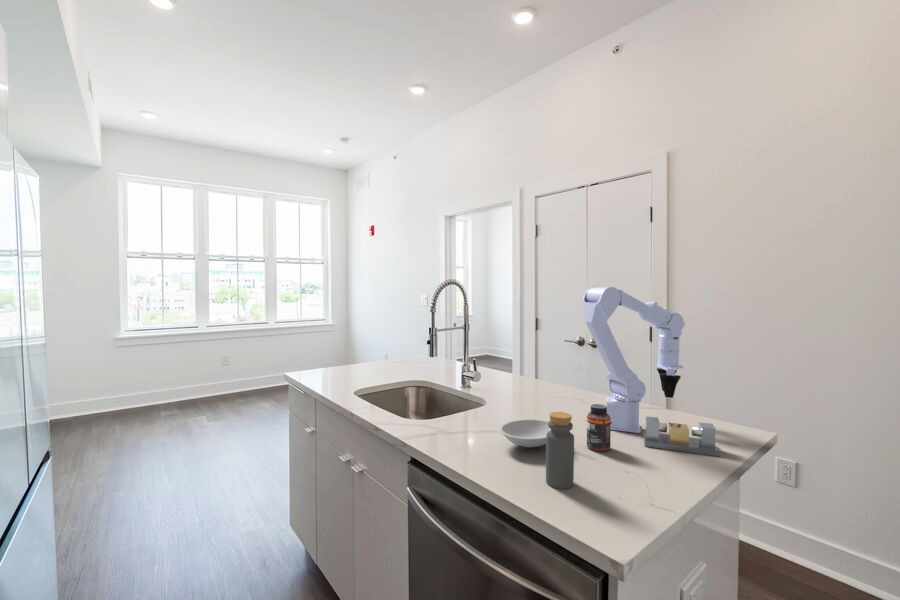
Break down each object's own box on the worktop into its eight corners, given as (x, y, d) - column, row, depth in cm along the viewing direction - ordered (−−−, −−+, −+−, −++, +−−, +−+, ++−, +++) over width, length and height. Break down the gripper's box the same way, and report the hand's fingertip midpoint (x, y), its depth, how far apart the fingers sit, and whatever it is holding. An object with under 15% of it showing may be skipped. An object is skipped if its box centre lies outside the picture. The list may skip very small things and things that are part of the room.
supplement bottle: (609, 445, 113) (610, 404, 112) (610, 454, 107) (611, 410, 107) (586, 442, 115) (587, 401, 114) (586, 450, 109) (587, 407, 109)
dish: (533, 432, 123) (533, 415, 122) (573, 448, 111) (573, 429, 110) (486, 445, 113) (487, 426, 112) (524, 464, 101) (525, 443, 101)
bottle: (542, 477, 94) (543, 410, 93) (567, 476, 94) (568, 410, 94) (550, 489, 88) (551, 419, 88) (577, 488, 89) (578, 418, 88)
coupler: (670, 441, 112) (670, 425, 112) (668, 436, 115) (668, 421, 115) (688, 444, 110) (689, 427, 110) (686, 439, 114) (686, 423, 114)
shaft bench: (644, 446, 112) (645, 422, 112) (643, 436, 120) (643, 414, 119) (718, 456, 106) (719, 431, 106) (712, 445, 113) (712, 421, 113)
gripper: (686, 355, 122) (685, 401, 122) (680, 348, 135) (678, 390, 136) (659, 353, 124) (658, 398, 125) (655, 346, 138) (654, 387, 138)
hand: (667, 394), depth 130 cm, fingers open, 7 cm apart
